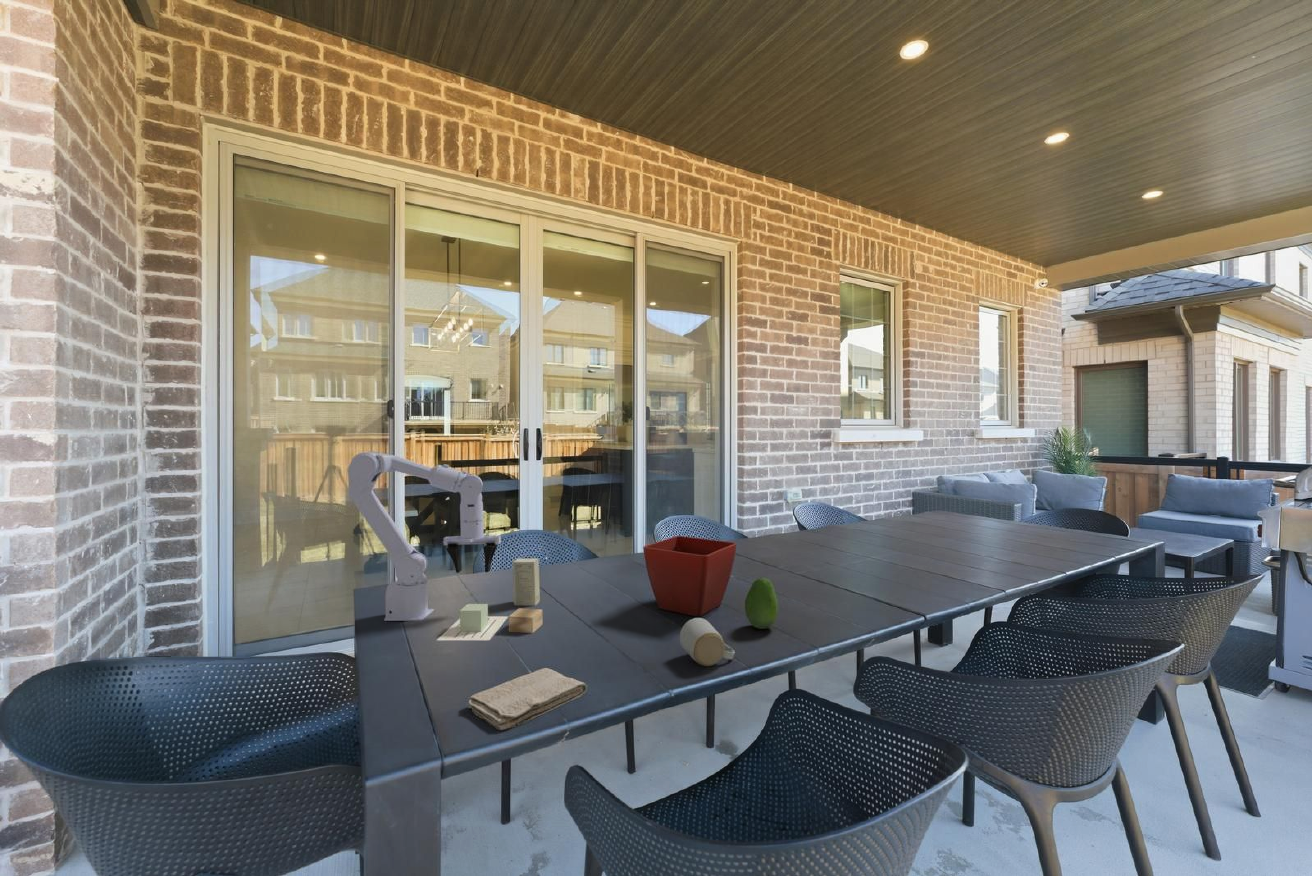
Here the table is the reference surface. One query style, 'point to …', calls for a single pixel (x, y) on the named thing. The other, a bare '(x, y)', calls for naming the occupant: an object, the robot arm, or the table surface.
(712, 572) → the plant pot
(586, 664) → the table surface
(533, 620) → the oak block
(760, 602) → the fruit
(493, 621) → the letter
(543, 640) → the table surface
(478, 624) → the sage cube
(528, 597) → the skincare box
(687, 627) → the ceramic mug
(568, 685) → the washcloth
